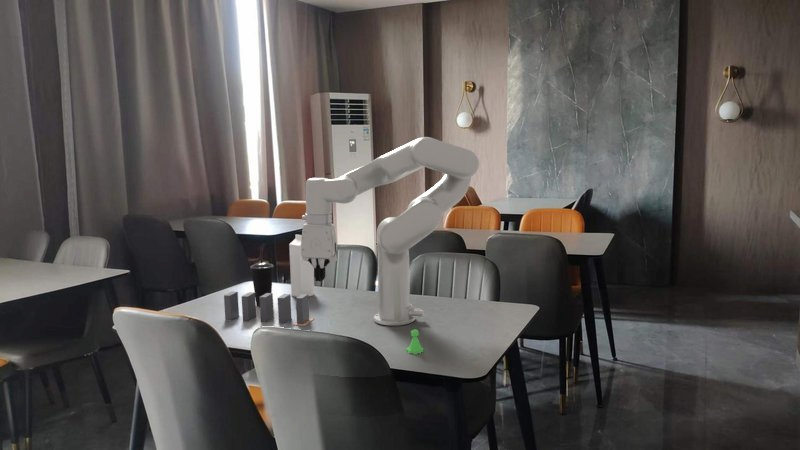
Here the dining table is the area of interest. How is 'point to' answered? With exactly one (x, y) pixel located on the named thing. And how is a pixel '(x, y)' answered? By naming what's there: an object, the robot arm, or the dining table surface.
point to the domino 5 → (302, 308)
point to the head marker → (304, 323)
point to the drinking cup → (262, 278)
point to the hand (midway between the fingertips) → (319, 280)
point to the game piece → (415, 343)
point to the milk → (300, 270)
